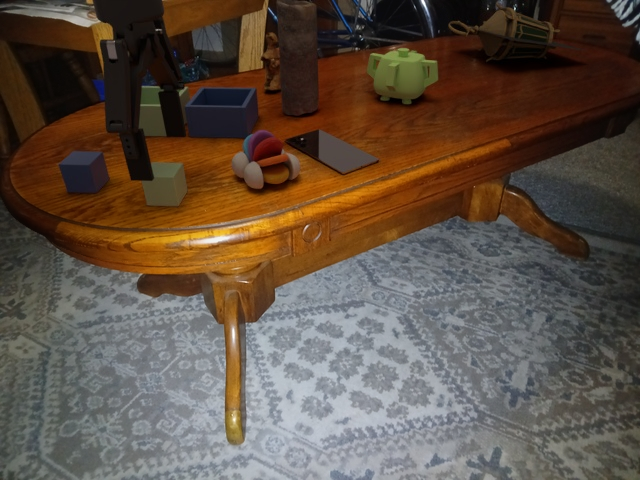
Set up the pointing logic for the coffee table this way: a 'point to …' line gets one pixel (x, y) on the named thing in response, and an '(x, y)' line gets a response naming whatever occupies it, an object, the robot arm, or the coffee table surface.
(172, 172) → the green block
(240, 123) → the blue bin
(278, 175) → the rainbow puzzle ball
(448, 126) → the coffee table surface
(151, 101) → the green bin
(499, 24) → the lantern
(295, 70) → the candle
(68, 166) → the blue block
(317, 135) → the smartphone
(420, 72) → the green lidded pot
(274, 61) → the figurine
